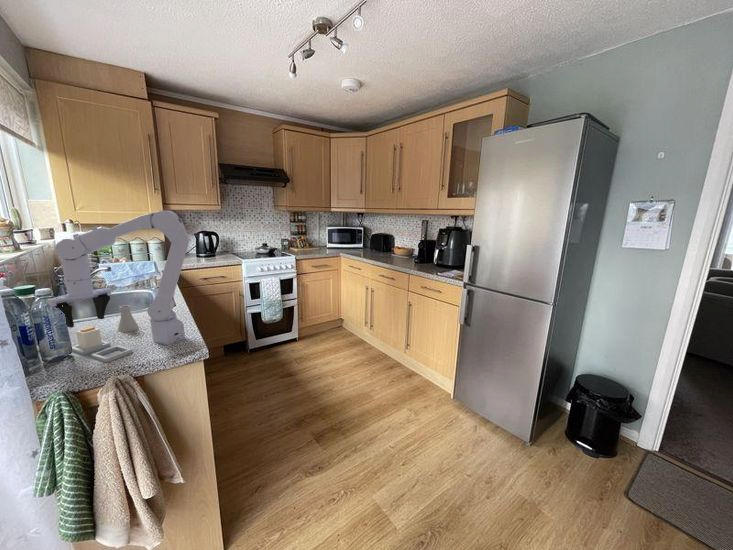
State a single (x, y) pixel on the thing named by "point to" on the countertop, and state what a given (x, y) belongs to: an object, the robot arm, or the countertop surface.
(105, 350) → the panel
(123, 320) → the flask
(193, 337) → the countertop surface
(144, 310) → the countertop surface
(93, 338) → the plug
